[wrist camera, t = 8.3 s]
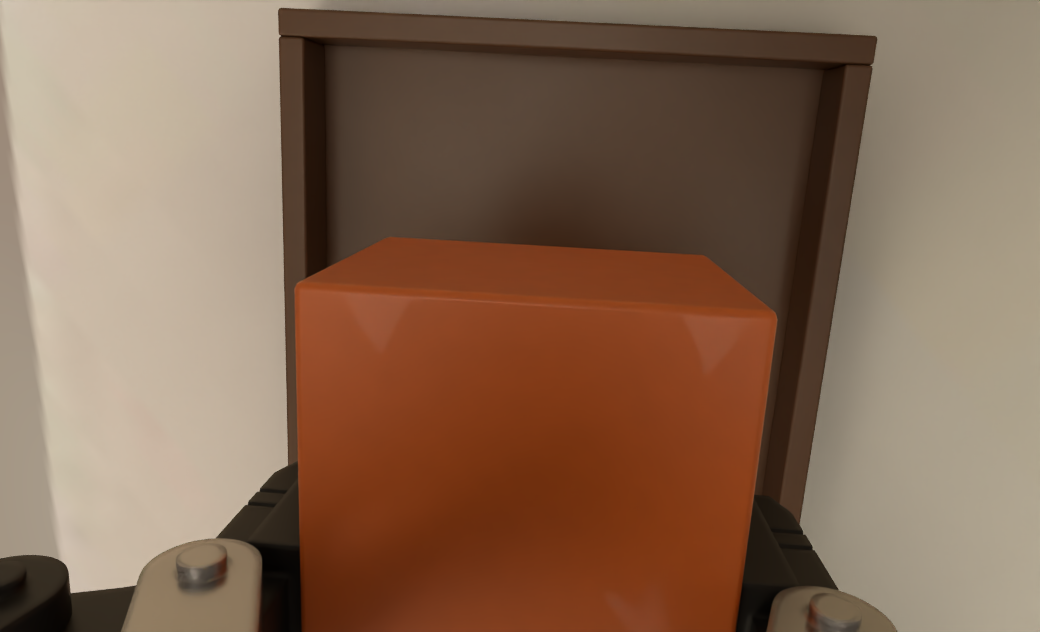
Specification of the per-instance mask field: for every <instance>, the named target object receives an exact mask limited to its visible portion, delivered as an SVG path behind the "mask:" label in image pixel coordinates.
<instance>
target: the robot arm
mask: <svg viewBox="0 0 1040 632" xmlns="http://www.w3.org/2000/svg"><path fill="white" fill-rule="evenodd" d="M0 632H301V584H300V536H299V487H298V461H296V462H294V463H292V464H290V465H288V466H287V467H285V468H283V469H281V470H279V471H277V472H275V473H274V474H273V475H272V476H271V477H270V478H269V479H268V481H267V482H266V483H265V484H264V485H263V486H262V487H261V488H260V492H257V493H256V494H255V495H254V496H253V497H252V498H251V499H250V501H249V502H248V505H245V506H244V507H243V508H242V509H241V511H240V512H239V513H238V514H237V515H236V516H235V517H234V518H233V520H232V521H231V522H230V523H229V524H228V525H227V526H226V527H225V528H224V530H223V531H222V532H221V533H220V534H219V535H218V536H217V537H216V538H215V539H204V540H197V541H193V542H188V543H185V544H182V545H179V546H176V547H174V548H171V549H169V550H167V551H165V552H163V553H161V554H159V555H158V556H156V557H155V558H153V559H152V560H151V561H150V562H149V563H147V565H146V566H145V567H144V568H143V570H142V572H141V574H140V576H139V579H138V582H137V585H136V586H130V587H124V588H115V589H106V590H97V591H88V592H79V593H70V583H69V573H68V569H67V567H66V565H65V564H64V563H63V562H61V561H59V560H58V559H55V558H52V557H47V556H39V555H23V556H13V557H7V558H1V559H0ZM736 632H897V630H896V628H895V626H894V625H893V623H892V622H891V621H890V620H889V619H888V618H887V617H886V616H885V615H884V614H883V613H882V612H880V611H879V610H878V609H876V608H875V607H874V606H872V605H870V604H869V603H867V602H865V601H863V600H861V599H859V598H857V597H855V596H852V595H850V594H847V593H844V592H841V591H839V590H838V588H837V586H836V585H835V583H834V581H833V580H832V578H831V577H830V575H829V573H828V572H827V570H826V568H825V567H824V565H823V563H822V562H821V560H820V558H819V557H818V555H817V553H816V552H815V551H814V550H812V545H811V544H810V542H809V540H808V539H807V537H806V535H803V530H802V529H801V527H800V525H799V524H798V522H797V520H796V519H795V517H794V516H793V514H792V512H790V511H789V510H787V509H786V508H785V507H783V506H782V505H781V504H779V503H778V502H777V501H775V500H774V499H773V498H771V497H770V496H764V495H754V499H753V507H752V514H751V522H750V529H749V537H748V544H747V552H746V559H745V567H744V574H743V582H742V589H741V597H740V604H739V612H738V619H737V627H736Z"/></svg>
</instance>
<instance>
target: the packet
mask: <svg viewBox="0 0 1040 632" xmlns="http://www.w3.org/2000/svg"><path fill="white" fill-rule="evenodd" d="M294 294H295V342H296V390H297V439H298V487H299V536H300V584H301V632H736V627H737V619H738V612H739V604H740V597H741V589H742V582H743V574H744V567H745V559H746V552H747V544H748V537H749V529H750V522H751V514H752V507H753V499H754V492H755V484H756V477H757V469H758V462H759V455H760V447H761V440H762V432H763V425H764V417H765V410H766V402H767V395H768V387H769V380H770V372H771V365H772V357H773V350H774V342H775V335H776V327H777V320H778V319H777V316H776V313H775V312H774V311H773V310H772V309H770V308H769V307H768V306H767V305H765V304H764V303H763V302H762V301H760V300H759V299H758V298H757V297H756V296H754V295H753V294H752V293H751V292H749V291H748V290H747V289H746V288H744V287H743V286H742V285H741V284H740V283H738V282H737V281H736V280H735V279H733V278H732V277H731V276H730V275H728V274H727V273H726V272H725V271H723V270H722V269H721V268H720V267H719V266H717V265H716V264H715V263H714V262H712V261H711V260H710V259H709V258H707V257H706V256H704V255H692V254H675V253H658V252H640V251H623V250H606V249H589V248H572V247H555V246H538V245H520V244H503V243H486V242H469V241H452V240H435V239H417V238H400V237H388V238H385V239H383V240H381V241H379V242H377V243H375V244H373V245H371V246H369V247H367V248H365V249H363V250H361V251H359V252H357V253H355V254H353V255H351V256H349V257H347V258H345V259H343V260H342V261H340V262H338V263H336V264H334V265H332V266H330V267H328V268H326V269H324V270H322V271H320V272H318V273H316V274H314V275H312V276H310V277H308V278H306V279H304V280H302V281H300V282H298V283H297V284H296V287H295V289H294Z"/></svg>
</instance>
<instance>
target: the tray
mask: <svg viewBox="0 0 1040 632" xmlns="http://www.w3.org/2000/svg"><path fill="white" fill-rule="evenodd" d="M278 19H279V35H281V37H280V38H279V61H280V107H281V153H282V199H283V245H284V291H285V337H286V383H287V429H288V465H290V464H292V463H294V462H296V461H298V439H297V390H296V342H295V294H294V289H295V287H296V284H297V283H298V282H300V281H302V280H304V279H306V278H308V277H310V276H312V275H314V274H316V273H318V272H320V271H322V270H324V269H326V268H328V267H330V266H332V265H334V264H336V263H338V262H340V261H342V260H343V259H345V258H347V257H349V256H351V255H353V254H355V253H357V252H359V251H361V250H363V249H365V248H367V247H369V246H371V245H373V244H375V243H377V242H379V241H381V240H383V239H385V238H388V237H400V238H417V239H435V240H452V241H469V242H486V243H503V244H520V245H538V246H555V247H572V248H589V249H606V250H623V251H640V252H658V253H675V254H692V255H704V256H706V257H707V258H709V259H710V260H711V261H712V262H714V263H715V264H716V265H717V266H719V267H720V268H721V269H722V270H723V271H725V272H726V273H727V274H728V275H730V276H731V277H732V278H733V279H735V280H736V281H737V282H738V283H740V284H741V285H742V286H743V287H744V288H746V289H747V290H748V291H749V292H751V293H752V294H753V295H754V296H756V297H757V298H758V299H759V300H760V301H762V302H763V303H764V304H765V305H767V306H768V307H769V308H770V309H772V310H773V311H774V312H775V313H776V316H777V319H778V320H777V327H776V335H775V342H774V350H773V357H772V365H771V372H770V380H769V387H768V395H767V402H766V410H765V417H764V425H763V432H762V440H761V447H760V455H759V462H758V469H757V477H756V484H755V492H754V495H764V496H770V497H771V498H773V499H774V500H775V501H777V502H778V503H779V504H781V505H782V506H783V507H785V508H786V509H787V510H789V511H790V512H792V514H793V516H794V517H795V519H796V520H797V522H798V524H799V523H800V517H801V511H802V505H803V498H804V492H805V486H806V480H807V473H808V467H809V461H810V455H811V449H812V442H813V436H814V430H815V424H816V417H817V411H818V405H819V399H820V392H821V386H822V380H823V374H824V367H825V361H826V355H827V349H828V342H829V336H830V330H831V324H832V318H833V311H834V305H835V299H836V293H837V286H838V280H839V274H840V268H841V261H842V255H843V249H844V243H845V236H846V230H847V224H848V218H849V211H850V205H851V199H852V193H853V187H854V180H855V174H856V168H857V162H858V155H859V149H860V143H861V137H862V130H863V124H864V118H865V112H866V105H867V99H868V93H869V87H870V80H871V74H872V66H870V65H871V64H873V62H874V56H875V50H876V44H877V37H876V36H868V35H846V34H825V33H804V32H783V31H761V30H740V29H719V28H698V27H677V26H655V25H634V24H613V23H592V22H570V21H549V20H528V19H507V18H485V17H464V16H443V15H422V14H400V13H379V12H358V11H337V10H315V9H294V8H280V9H279V10H278Z"/></svg>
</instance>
